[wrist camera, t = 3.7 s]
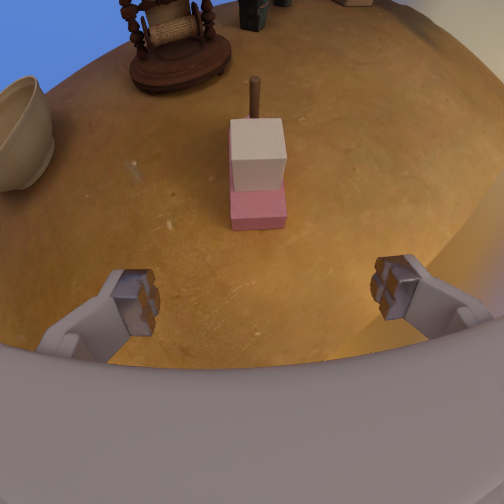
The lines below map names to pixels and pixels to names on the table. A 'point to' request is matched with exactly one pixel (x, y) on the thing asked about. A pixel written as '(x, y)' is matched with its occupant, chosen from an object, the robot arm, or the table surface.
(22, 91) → the planter bowl
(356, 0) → the decorative block
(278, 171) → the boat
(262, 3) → the ceramic cat
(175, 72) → the scroll
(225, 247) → the table surface
